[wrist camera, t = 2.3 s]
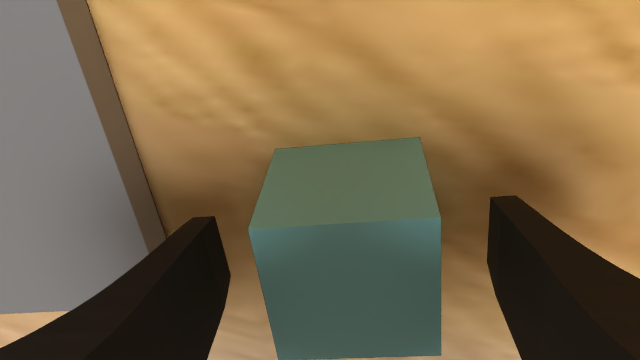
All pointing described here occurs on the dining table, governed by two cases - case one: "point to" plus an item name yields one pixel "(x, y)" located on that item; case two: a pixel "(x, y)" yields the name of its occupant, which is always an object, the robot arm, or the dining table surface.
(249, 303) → the dining table surface
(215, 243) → the robot arm
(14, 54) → the plate
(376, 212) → the teal cube
